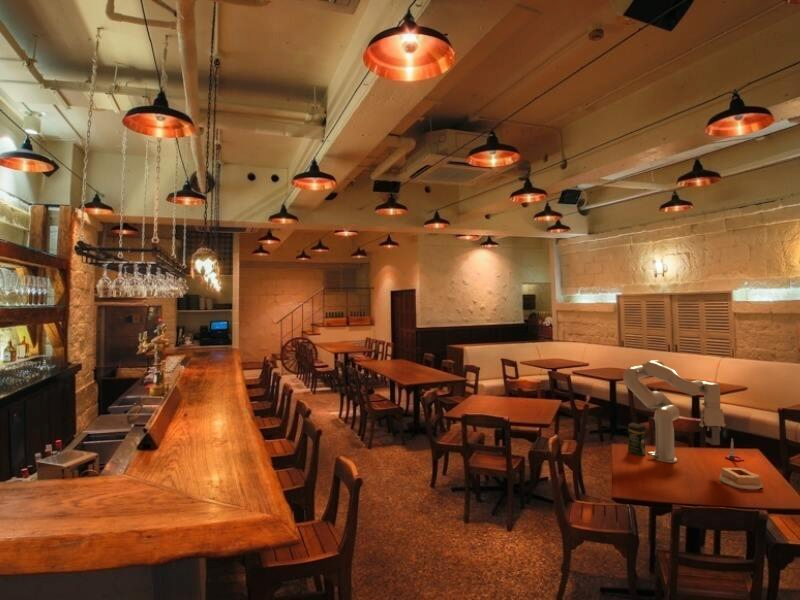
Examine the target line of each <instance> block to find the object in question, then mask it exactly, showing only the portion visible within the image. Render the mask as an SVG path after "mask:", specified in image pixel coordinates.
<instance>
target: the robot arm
mask: <svg viewBox="0 0 800 600" xmlns="http://www.w3.org/2000/svg"><path fill="white" fill-rule="evenodd" d="M648 377H655V378H656V379H659V380H661V381H663V382H665V383H667V384H669V385H670V386H671V387H672V388H674V389H675V390H677V391H680V392H681V393H685V394H687V395H690V396H697V395H700V394H703V402H702V403H701V405H702V410H701V418H700V419H701V421H700V422H699V423H698V425H699V426H700V427H702V428H703V429H704V431H705V438H706V437H707V438H711V433H710V431H709V430H710V426H719V427H720V432H721V431H722V429H723V428H724V427H726V426H727V424H726V423H725V416H724V410H723V407H721V385H720V384H719V383H717V382H712V381H711V382H710V381H709V382H708V381H703V380H700V379H696V380H692V381H690V380H688V379H685V378H683V377H681V376H680V375H679V374H677V371H676V370H675V369H674V368H671V367H668V366H666V365H665V364H664V363H663V362H662V361H661V360H660V359H652V360H648V361H646V362H645V363H642V364H639V365H633V366H630V367H628V368H626V369H625V370H624V372H623V374H622V378H623V379H622V381H623V383H624V385H625V386H626V387H627V389H629V391H631V392H632V394H633V395H634V396H635V397H636V398H638V400H639V401H641V403H642V404H643V405H644V406H646V408H648V409H655V408H656V410H655V412H654V414H653V417H654V418H653V419H654V423H655V449H654V450H653V451H647V452H646V453H647V455H648V456H651V457H652V458H653V459H654V460H655V459H656V460H655V461H658V462H662V463H667V464H668V463H671V464H673V463H677V462H678V458H677V457H676V456H675V430H674V424H673V422H674V421H676V420H677V419H678V418H680V410H679V408H678V407H677V406H676V404H674V403H673V401H671V400H670V399H669V398H668V397H667V396H666V395H665V394H664V393H662V392H660V391H658V390H653V391H652V390H651V389H649V388H648V387H647V385H645V384H644V383H643V382H641V381H640V380H641V379H645V378H648Z"/></svg>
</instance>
